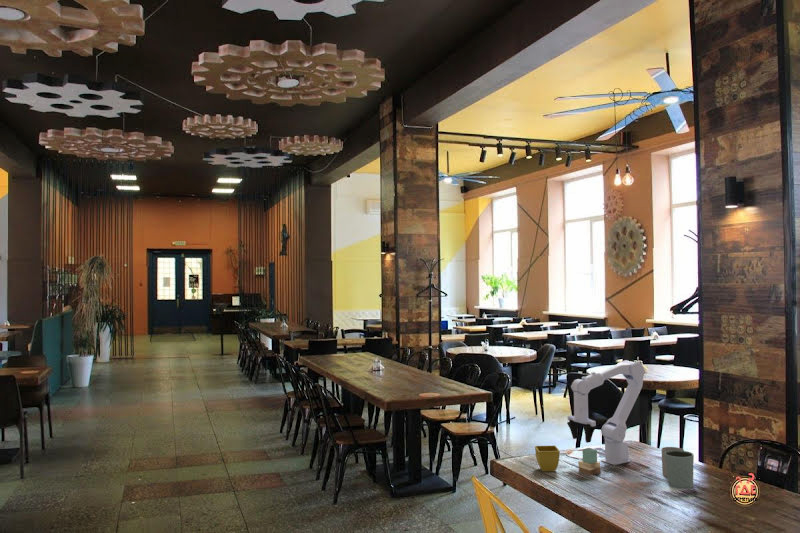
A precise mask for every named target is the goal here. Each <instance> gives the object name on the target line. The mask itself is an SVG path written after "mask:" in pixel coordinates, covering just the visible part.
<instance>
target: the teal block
mask: <svg viewBox="0 0 800 533" xmlns="http://www.w3.org/2000/svg"><path fill="white" fill-rule="evenodd" d="M582 460H583V462H586V463H590V464H592V463H595V462H597V461H598V450H597V449H596V448H592V447H587V448H583V449H582Z"/></svg>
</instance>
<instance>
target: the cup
mask: <svg viewBox="0 0 800 533" xmlns="http://www.w3.org/2000/svg"><path fill="white" fill-rule="evenodd" d="M671 450H681V451H685V450H684V449H683V448H681V447H675V446H664V447H661V468H662V469H661V470H662V472H661V473H662V476H664V477H667V478H668V474H667V467H666V460H665V452H666V451H671Z"/></svg>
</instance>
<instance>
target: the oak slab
mask: <svg viewBox="0 0 800 533" xmlns="http://www.w3.org/2000/svg"><path fill="white" fill-rule="evenodd" d="M577 462H578V463H577V465H578V466H577V467H578V468H579V467H580V468H584V469H587V470H593V469H597V468H601V462H600V461H598V460H597V462H595V463H592V464H590V463H586V462H583V459H582V460H579V461H577Z"/></svg>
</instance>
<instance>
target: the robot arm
mask: <svg viewBox="0 0 800 533" xmlns="http://www.w3.org/2000/svg"><path fill="white" fill-rule="evenodd" d="M645 373H646V370H645V367H644V366H643V364H642V363H640V362H637V361H636V362H635V361H629V360H628V359H625V360H622V361H619V362H617V364H615V365H613V366H610V367H609V368H607V369H606V370H603V371H602V372H598V371H592V372H591V373H590V374H589V375H586V376H581V379H580V378H577V379H574V380H573V381H572V383H571V385H570V388H571V390H572V392H573V415H567V423H566V424H567V426H568V428H569V430H570V433H571V436H572V440H577V439H578V437H579V427H580V424H583V426H582V427H583V430H584V431H583V432H584V436H585V437H584V439H585V443H587V444H588V443H589V444H590V443H591V442H592V437H593V434H594V432H595V430H596V429H597V424H596V423H597V422H596V420H593V419H590V418H589V393H590V392H591V390H593V389H595V388H598V387H600V386H602V385H603V384H604V383H605V381H607V380H608V379H610V378H614V377H615V376H618V375H622V376H623V377H624V378H625V380H626V382H627V386H626V388H625V391H624V392H623V395H622V397H621V399H620V401H619V403H618V405H617V408H616V409H615V411H614V414H613V415H612V417H610V418H608V419H607V421H606V422H605V423H604V424H603V425H602V427H601V430H600V432H601V434H602V436H603V437H604V438H603V439H604V456H605V458H603V459H601V460H600V461H601V462H604V463H607V464H611V465H614V466H617V465H621V464H625V463H626V464H627V463H631V460H630V459H629V445H628V443H627V442H626V440H625V438H626V431H627V429H628V427H627V423H626V422H627V420H628V418H629V416H630V414H631V411H632V410H633V408H634V405H635V403H636V401H637V399H638V397H639V395H640V392H641V390H642V388H643V387H644V386H643V385H644V375H645Z"/></svg>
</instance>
